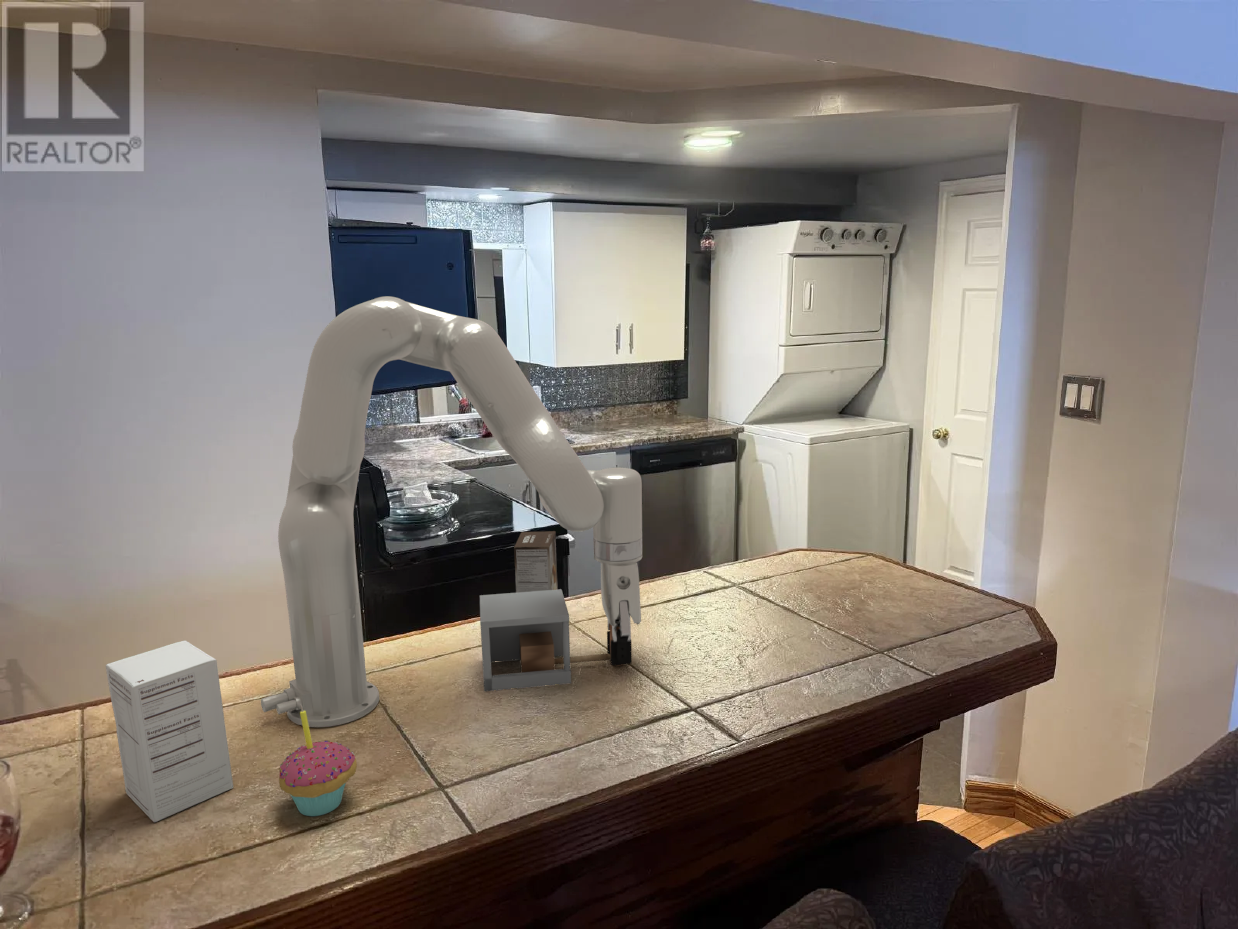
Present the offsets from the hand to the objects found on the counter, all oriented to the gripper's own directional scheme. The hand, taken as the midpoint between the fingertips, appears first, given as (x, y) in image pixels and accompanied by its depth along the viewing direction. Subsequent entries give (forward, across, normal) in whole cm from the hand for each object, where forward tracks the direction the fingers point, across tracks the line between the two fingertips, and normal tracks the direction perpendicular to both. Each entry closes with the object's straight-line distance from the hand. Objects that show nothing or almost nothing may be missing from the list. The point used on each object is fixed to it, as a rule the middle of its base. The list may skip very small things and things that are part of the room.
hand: (619, 658), depth 132 cm
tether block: (+1, 0, +7) cm, 7 cm away
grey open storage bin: (+1, 0, +15) cm, 15 cm away
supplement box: (+1, -24, +58) cm, 62 cm away
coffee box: (+1, +18, +11) cm, 21 cm away
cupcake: (+1, -30, +40) cm, 50 cm away
